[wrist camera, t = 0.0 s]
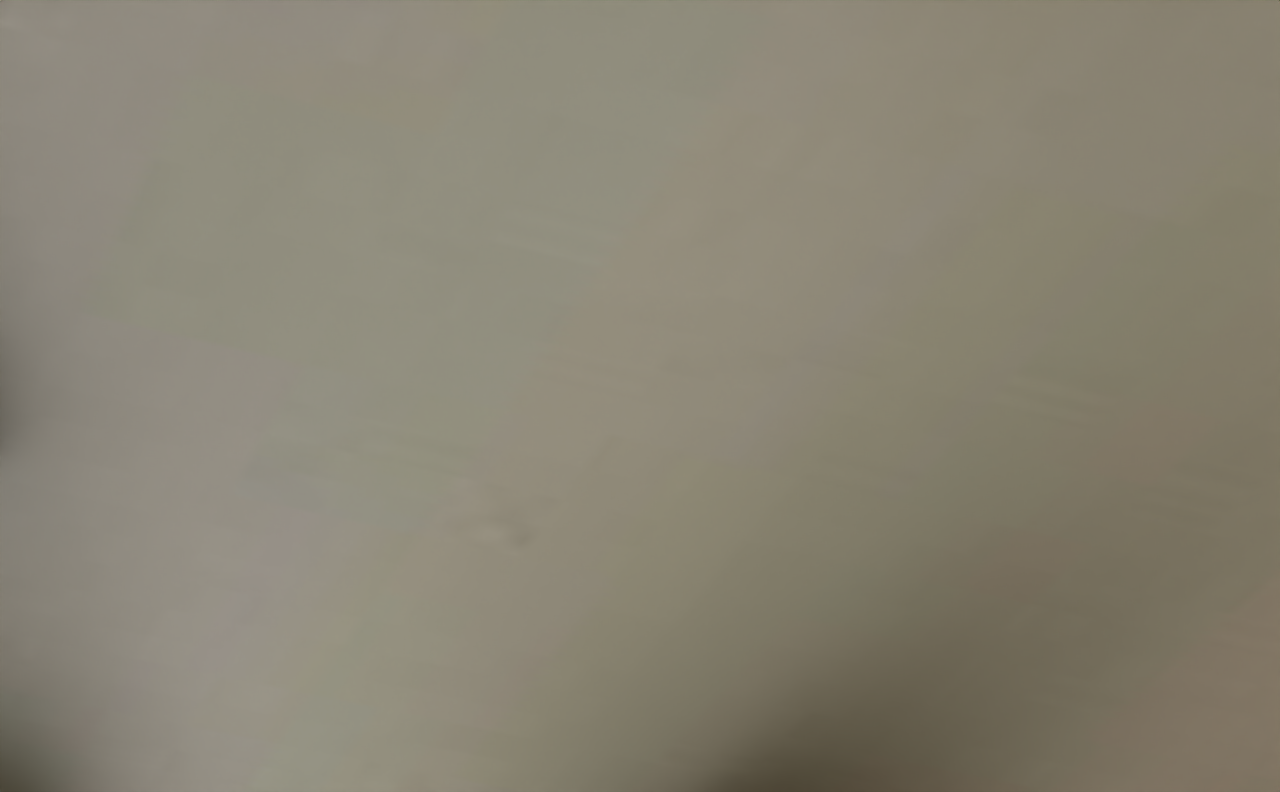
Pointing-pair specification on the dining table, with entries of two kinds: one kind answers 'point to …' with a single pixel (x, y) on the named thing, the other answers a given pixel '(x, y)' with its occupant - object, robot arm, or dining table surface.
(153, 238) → the dining table surface
